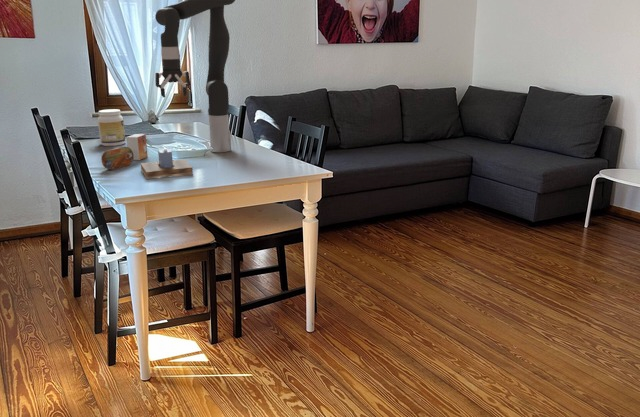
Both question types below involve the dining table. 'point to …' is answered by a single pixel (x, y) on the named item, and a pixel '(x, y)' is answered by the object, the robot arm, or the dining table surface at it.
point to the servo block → (165, 158)
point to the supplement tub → (111, 127)
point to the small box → (137, 146)
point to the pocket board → (166, 169)
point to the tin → (117, 158)
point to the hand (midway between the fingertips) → (173, 96)
